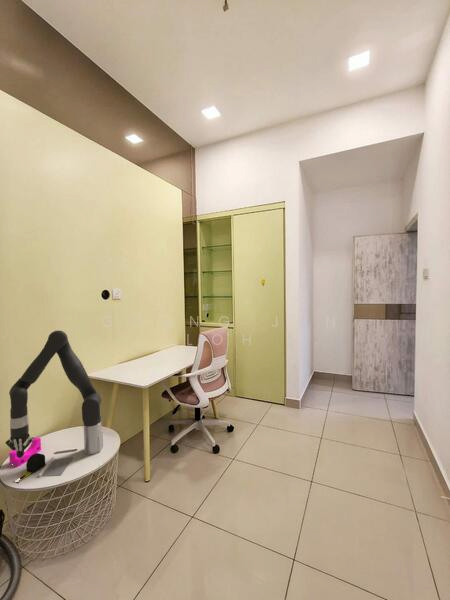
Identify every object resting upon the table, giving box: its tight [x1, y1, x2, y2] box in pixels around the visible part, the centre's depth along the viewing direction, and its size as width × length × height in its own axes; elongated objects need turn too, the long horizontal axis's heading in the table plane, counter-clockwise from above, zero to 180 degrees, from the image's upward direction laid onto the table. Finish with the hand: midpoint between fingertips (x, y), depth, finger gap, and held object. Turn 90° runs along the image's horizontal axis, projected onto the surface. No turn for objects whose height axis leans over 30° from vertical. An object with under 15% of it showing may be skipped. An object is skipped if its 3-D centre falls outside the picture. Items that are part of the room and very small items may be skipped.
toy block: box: [8, 437, 42, 467], centre depth 149 cm, size 15×6×8 cm, turn 165°
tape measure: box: [17, 452, 47, 484], centre depth 136 cm, size 15×4×8 cm, turn 165°
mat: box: [37, 456, 73, 478], centre depth 141 cm, size 10×14×2 cm
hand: (20, 456), depth 138 cm, fingers closed
